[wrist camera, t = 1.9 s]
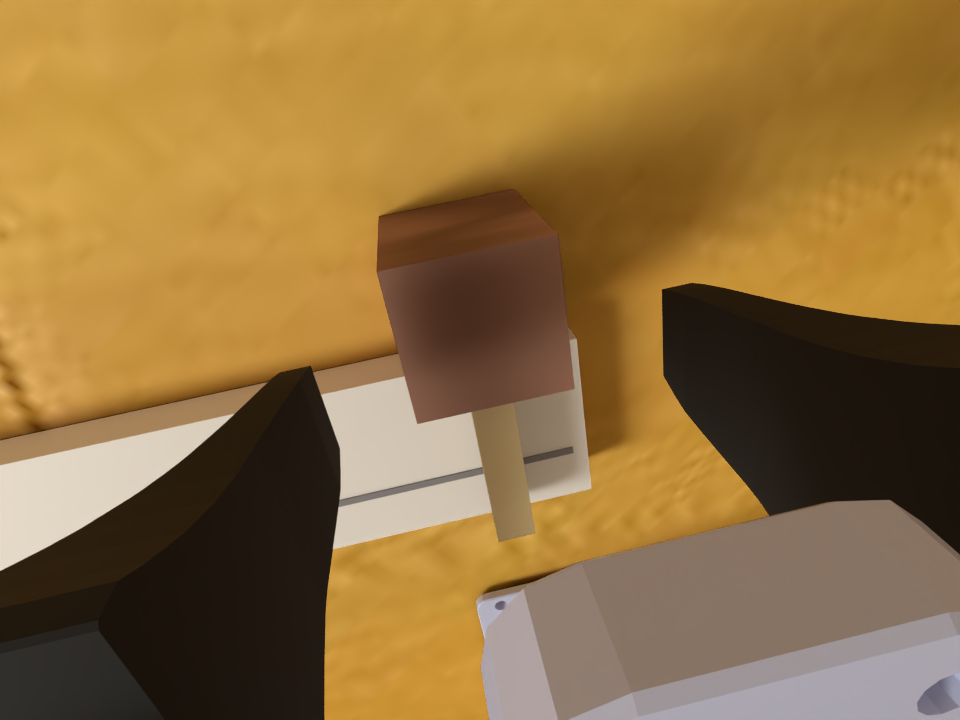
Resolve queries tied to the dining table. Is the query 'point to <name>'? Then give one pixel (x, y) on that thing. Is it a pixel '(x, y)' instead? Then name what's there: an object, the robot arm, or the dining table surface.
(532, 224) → the chocolate popsicle
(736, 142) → the dining table surface
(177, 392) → the dining table surface
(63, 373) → the dining table surface
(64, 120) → the dining table surface
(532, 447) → the board
